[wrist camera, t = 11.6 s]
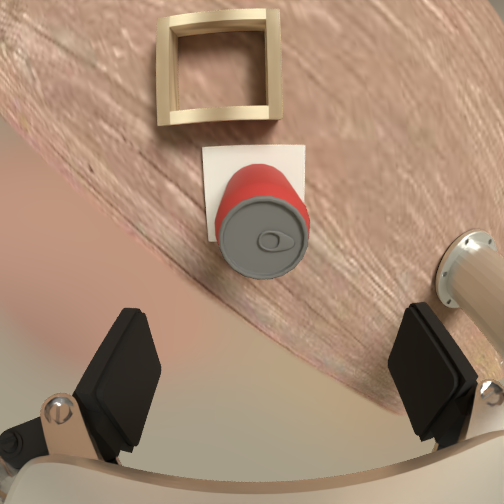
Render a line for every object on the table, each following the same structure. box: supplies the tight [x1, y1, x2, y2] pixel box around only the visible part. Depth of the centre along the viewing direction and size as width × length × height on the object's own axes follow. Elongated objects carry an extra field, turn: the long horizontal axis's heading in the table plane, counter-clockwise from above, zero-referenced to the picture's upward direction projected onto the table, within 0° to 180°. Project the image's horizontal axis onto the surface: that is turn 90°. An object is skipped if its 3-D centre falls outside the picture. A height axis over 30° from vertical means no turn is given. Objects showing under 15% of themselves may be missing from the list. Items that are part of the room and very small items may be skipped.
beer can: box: [214, 164, 310, 280], centre depth 23 cm, size 7×7×12 cm
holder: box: [156, 9, 283, 126], centre depth 22 cm, size 11×11×4 cm
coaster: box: [202, 144, 305, 242], centre depth 29 cm, size 10×10×1 cm
